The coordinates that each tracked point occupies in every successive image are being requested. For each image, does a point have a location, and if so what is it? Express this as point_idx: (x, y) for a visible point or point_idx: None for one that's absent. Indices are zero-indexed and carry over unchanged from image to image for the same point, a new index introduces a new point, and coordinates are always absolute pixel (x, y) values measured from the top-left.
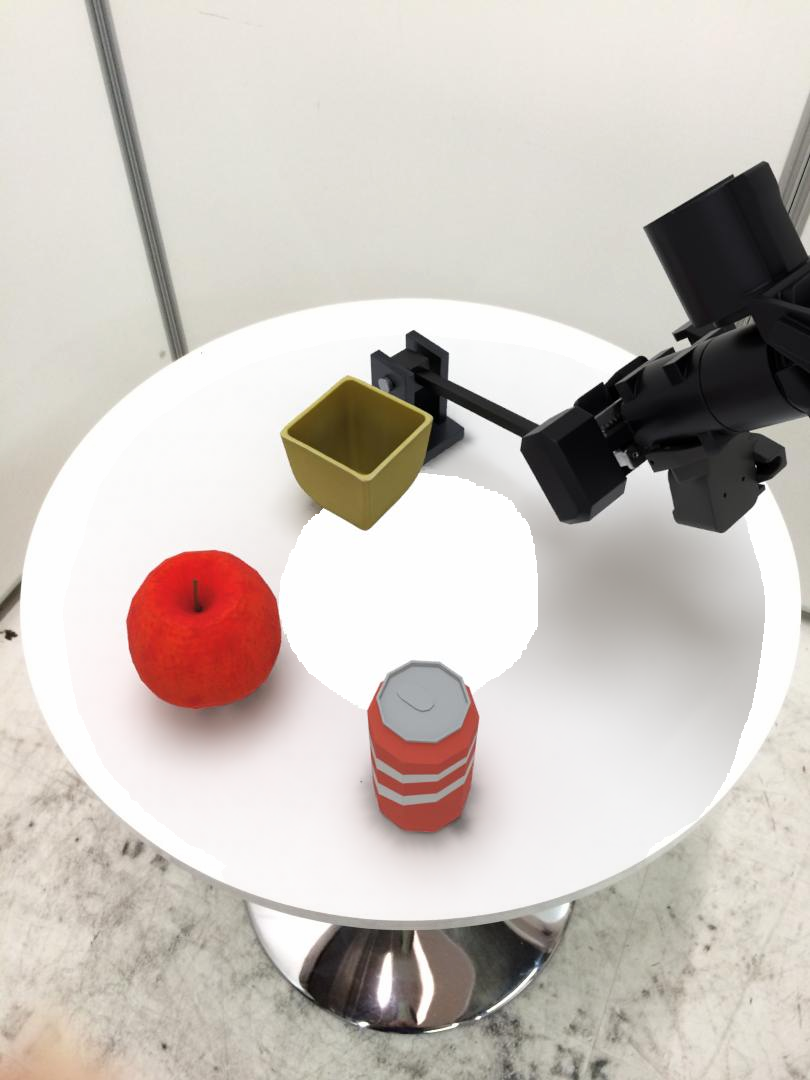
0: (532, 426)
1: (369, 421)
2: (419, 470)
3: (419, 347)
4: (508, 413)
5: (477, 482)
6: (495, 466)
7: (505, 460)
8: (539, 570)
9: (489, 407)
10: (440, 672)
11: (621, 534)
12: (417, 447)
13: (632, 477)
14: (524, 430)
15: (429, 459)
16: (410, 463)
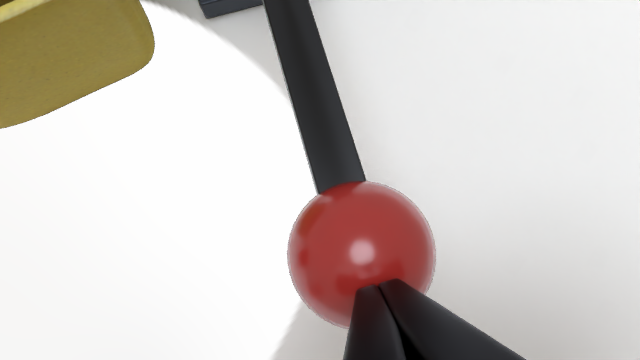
0: (335, 154)
1: None
2: (141, 54)
3: None
4: (309, 59)
5: None
6: (349, 79)
7: (376, 74)
8: (280, 353)
9: (280, 5)
10: None
11: None
12: (71, 28)
13: (587, 231)
14: (306, 153)
15: (240, 8)
16: (67, 54)
